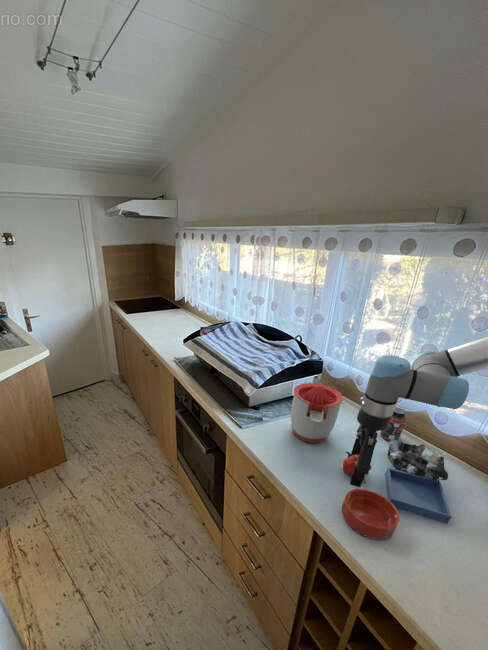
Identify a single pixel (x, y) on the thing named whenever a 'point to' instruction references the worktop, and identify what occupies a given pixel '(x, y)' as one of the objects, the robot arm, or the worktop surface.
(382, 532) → the red bowl
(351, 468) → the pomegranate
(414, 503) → the blue tray
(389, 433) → the supplement bottle
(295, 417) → the citrus juicer
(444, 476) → the foil
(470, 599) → the worktop surface
